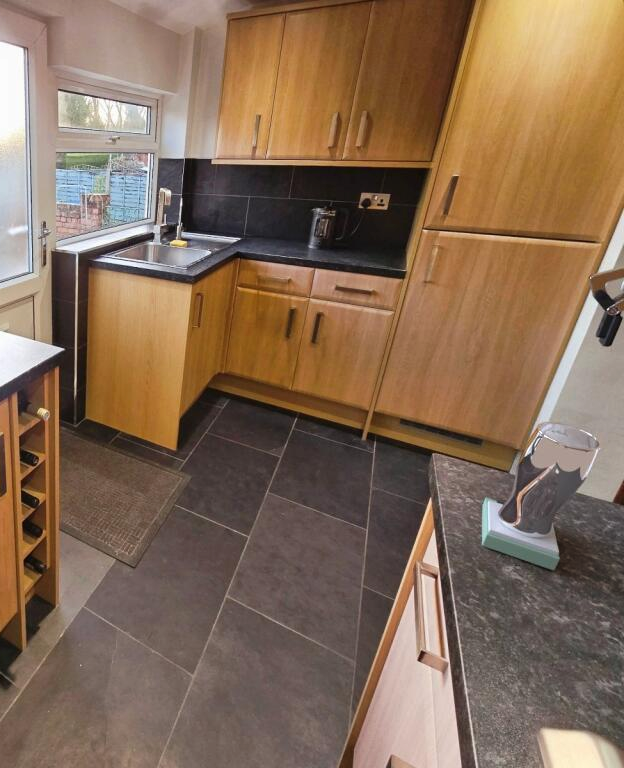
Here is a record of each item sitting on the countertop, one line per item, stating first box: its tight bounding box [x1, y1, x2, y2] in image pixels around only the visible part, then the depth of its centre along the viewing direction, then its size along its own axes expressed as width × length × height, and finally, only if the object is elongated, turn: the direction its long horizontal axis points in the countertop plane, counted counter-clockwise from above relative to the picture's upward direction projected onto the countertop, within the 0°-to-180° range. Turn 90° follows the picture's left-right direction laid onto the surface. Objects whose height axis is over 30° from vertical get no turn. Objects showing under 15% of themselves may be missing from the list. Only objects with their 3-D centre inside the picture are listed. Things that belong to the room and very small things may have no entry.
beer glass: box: [497, 421, 603, 538], centre depth 67 cm, size 7×7×15 cm
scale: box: [481, 497, 561, 571], centre depth 72 cm, size 11×8×3 cm
